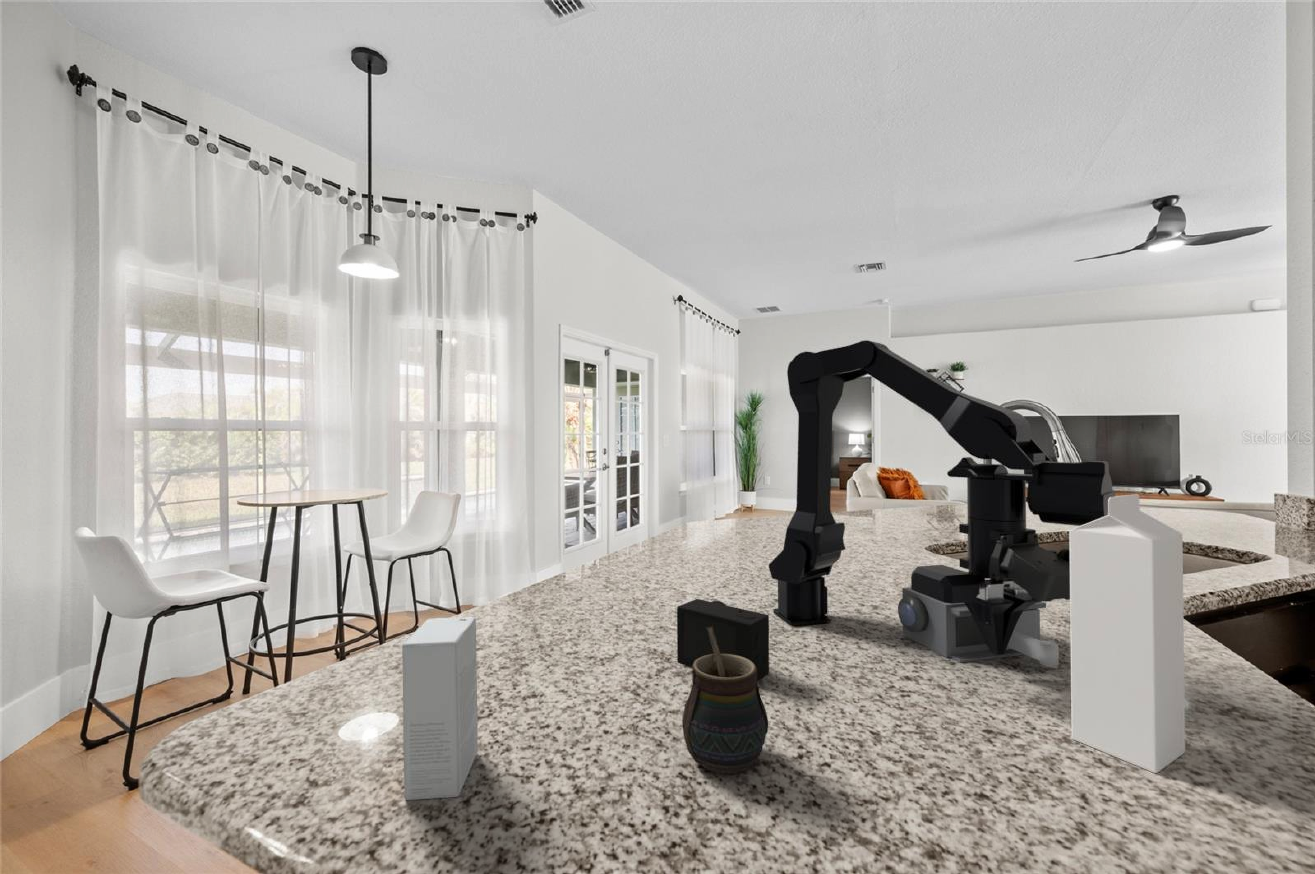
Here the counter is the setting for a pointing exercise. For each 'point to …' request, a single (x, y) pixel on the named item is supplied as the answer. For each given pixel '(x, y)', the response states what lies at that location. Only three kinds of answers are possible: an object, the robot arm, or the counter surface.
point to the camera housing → (946, 627)
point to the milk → (1128, 636)
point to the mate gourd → (724, 712)
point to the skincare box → (439, 707)
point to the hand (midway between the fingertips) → (996, 654)
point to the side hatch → (1033, 640)
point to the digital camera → (722, 633)
